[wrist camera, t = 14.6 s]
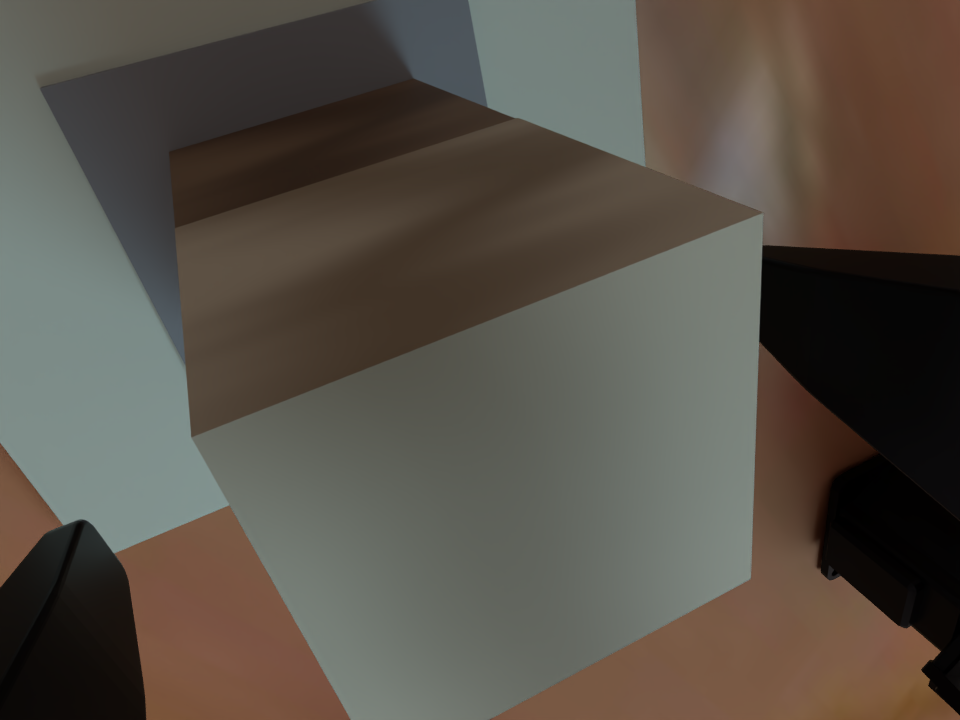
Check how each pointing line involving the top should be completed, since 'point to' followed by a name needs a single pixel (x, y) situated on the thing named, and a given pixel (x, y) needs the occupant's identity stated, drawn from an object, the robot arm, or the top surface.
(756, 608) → the top surface
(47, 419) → the board
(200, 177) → the walnut cube
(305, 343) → the maple cube
